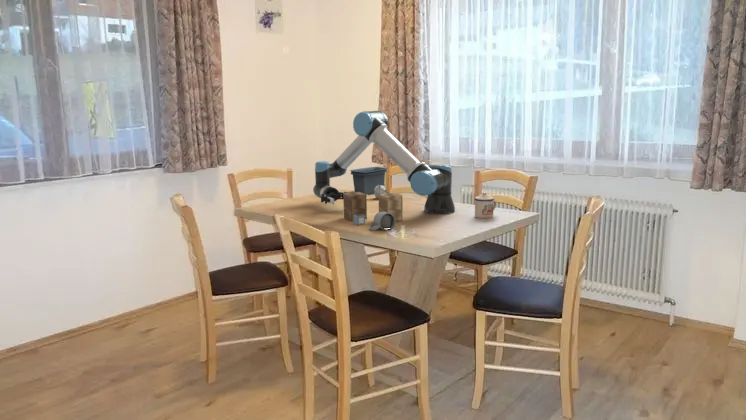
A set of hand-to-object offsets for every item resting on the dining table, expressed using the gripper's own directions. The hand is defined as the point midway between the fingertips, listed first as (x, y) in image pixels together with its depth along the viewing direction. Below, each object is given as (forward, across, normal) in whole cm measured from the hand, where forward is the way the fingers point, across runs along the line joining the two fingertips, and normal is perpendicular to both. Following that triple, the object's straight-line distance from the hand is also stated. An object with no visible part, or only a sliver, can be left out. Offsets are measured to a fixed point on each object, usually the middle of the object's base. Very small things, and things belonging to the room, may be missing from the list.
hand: (346, 200), depth 294 cm
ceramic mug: (+35, -1, -7) cm, 36 cm away
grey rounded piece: (-32, -35, -8) cm, 48 cm away
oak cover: (+21, -13, -7) cm, 26 cm away
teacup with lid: (+36, -57, -7) cm, 68 cm away
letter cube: (+21, +3, -7) cm, 22 cm away
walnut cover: (+10, 0, -7) cm, 12 cm away
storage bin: (-53, -38, -8) cm, 66 cm away
